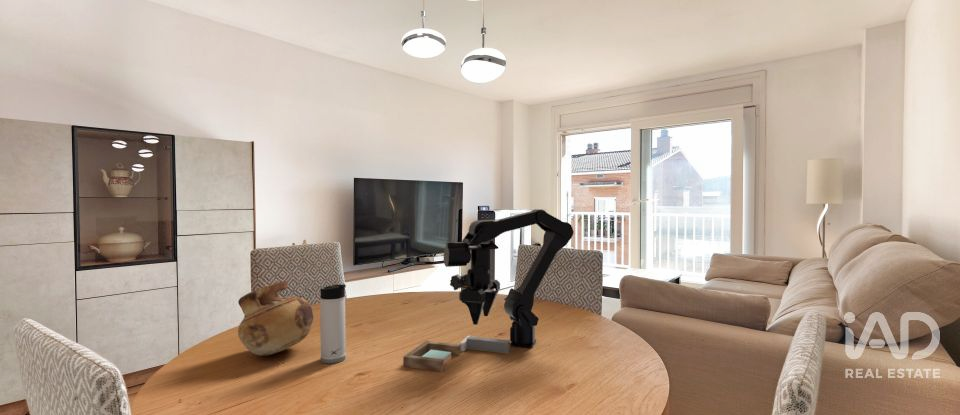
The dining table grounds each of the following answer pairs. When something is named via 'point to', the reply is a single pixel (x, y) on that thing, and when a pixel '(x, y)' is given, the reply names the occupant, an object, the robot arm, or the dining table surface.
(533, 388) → the dining table surface
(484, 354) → the dining table surface
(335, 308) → the travel mug
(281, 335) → the clay pot
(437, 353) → the tile
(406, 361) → the bay
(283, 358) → the dining table surface
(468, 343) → the pusher tool
